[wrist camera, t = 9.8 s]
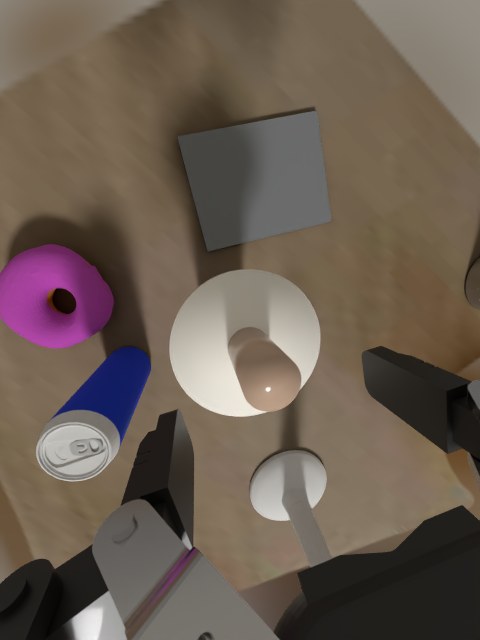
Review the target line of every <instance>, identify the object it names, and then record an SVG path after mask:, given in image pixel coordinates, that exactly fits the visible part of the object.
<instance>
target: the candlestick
mask: <svg viewBox="0 0 480 640" xmlns="http://www.w3.org/2000/svg"><path fill="white" fill-rule="evenodd" d="M326 481H327V477H326V471H325V468H324V466H323V465H322V463H321V462H320V460H319V459H318V458H317V457H316V456H314V455H313V454H311V453H309V452H306V451H302V450H290V451H285V452H282V453H279V454H276V455H274V456H273V457H271V458H269V459H268V460H267V461H265V462H264V463H263V464H262V465H261V466H260V467H259V468H258V469H257V471H256V472H255V474H254V476H253V478H252V480H251V484H250V498H251V502H252V504H253V506H254V508H255V510H256V511H257V512H258V513H259V514H261V515H262V516H264V517H266V518H268V519H272V520H278V521H285V520H291V523H292V525H293V527H294V530H295V532H296V534H297V536H298V539H299V541H300V543H301V546H302V548H303V550H304V553H305V555H306V557H307V560H308V562H309V564H310V567H313V566H316V565H318V564H320V563H323V562H325V561H328V560H330V559H332V556H331V554H330V552H329V549H328V547H327V545H326V542H325V540H324V537H323V535H322V533H321V530H320V528H319V526H318V523H317V521H316V518H315V516H314V514H313V511H312V508H313V507H314V506H315V505H316V504H317V503H318V501H319V500H320V498H321V496H322V495H323V492H324V490H325V487H326Z"/></svg>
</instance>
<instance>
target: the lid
mask: <svg viewBox="0 0 480 640" xmlns="http://www.w3.org/2000/svg"><path fill="white" fill-rule="evenodd" d="M319 349H320V327H319V322H318V318H317V315H316V313H315V310H314V308H313V306H312V304H311V303H310V301H309V300H308V298H307V297H306V295H305V294H304V293H303V292H302V291H301V290H300V289H299V288H298V287H297V286H296V285H294V284H293V283H292V282H290V281H289V280H287V279H285V278H283V277H282V276H279V275H276V274H274V273H271V272H266V271H262V270H251V269H242V270H234V271H228V272H225V273H222V274H219V275H217V276H215V277H213V278H211V279H209V280H207V281H206V282H204V283H203V284H201V285H200V286H199V287H198V288H196V289H195V290H194V291H193V292H192V293H191V294H190V295H189V297H188V298H187V299H186V300H185V302H184V303H183V305H182V306H181V308H180V310H179V312H178V314H177V316H176V319H175V321H174V325H173V328H172V331H171V337H170V359H171V364H172V368H173V371H174V374H175V376H176V378H177V380H178V382H179V384H180V385H181V387H182V388H183V389H184V391H185V392H186V393H187V394H188V395H189V396H190V397H191V398H192V399H193V400H194V401H195V402H197V403H198V404H200V405H201V406H203V407H205V408H206V409H208V410H210V411H213V412H216V413H219V414H223V415H228V416H237V417H239V416H252V415H257V414H261V413H265V412H270V411H276V410H279V409H282V408H284V407H286V406H287V405H289V404H290V403H291V402H292V401H293V400H294V399H295V397H296V396H297V394H298V392H299V390H300V389H301V388H302V387H303V385H304V384H305V383H306V381H307V380H308V378H309V377H310V375H311V373H312V371H313V369H314V367H315V364H316V362H317V358H318V355H319Z"/></svg>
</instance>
